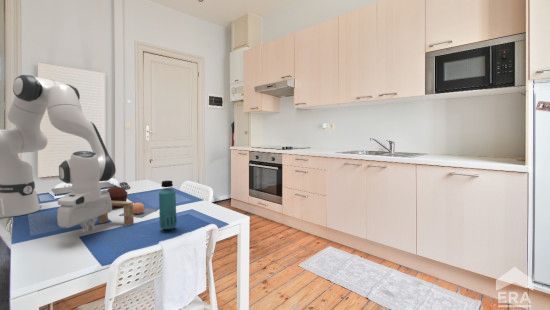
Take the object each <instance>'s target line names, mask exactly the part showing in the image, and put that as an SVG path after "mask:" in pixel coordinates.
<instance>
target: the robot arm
mask: <svg viewBox="0 0 550 310" xmlns="http://www.w3.org/2000/svg"><path fill="white" fill-rule="evenodd" d="M12 91H13V94H14V95H15V96H14V98H13V100H12V103H11V105H10V107H9V110H8V113H7V119H8V121H9V122H10V123H11V124H12V125H14V126H15V128H12V129H0V219H1V218H9V217H18V216H24V215H29V214H32V213H36V212H38V211H40V210H41V209H40V208H42V204H40V202H39V197H38V193H37V191H35V189H36V183H35V181H34V175H33V174H34V173H33V166H32V165H31V164H30V163H29V162H27V161H24V160H22V159H21V158H20V156H19V154H23V153H24V154H25V153H33V152H38V151H42V150H44V149H45V148H47V145H48V137H47V135H46V134H45V133H44V132H42V130H41V123H42V120H43V118H44V115H45V113H46V110H47V115H48V118H49V122H50V123H51V125H52V126H53V127H54V128H55V129H56V130H58V131H60V132H63V133H65V134H69V135H74V136H77V137H79V138H81V139H84V140H86V142H88V144H89V146H90V148H91V151H89V150H80V151H75V152H73V153H71V155H70V158H69V159H66V160H64V161H63V162H62V163H60V164H59V166H58V173H59V174H58V175H59V180H60V181H61V182H63V183H65V184H69V185H71V191H69V192H68V193H67V194H65V195H63V196H61V197H60V198H59V199H57V205H59V207H58V209H57V212H56V215H57V218H56V219H57V225H58V227H59V228H63V229H70V228H72V227H74V226H77V225H80V226H81V228H82V231H83V233H89V232H91V231H93V230H94V229H95V224H96V222H97V218H98V216H101V215H104V214H106V213H108V214H109V213H111V212H112V210H113V209H112V202H111V198H110V194H109V192H108V191H106V190H107V189H104V190H101V189H102V188H101V183H100V182H108V181H110V180H111V179H112V178H113V177H114V176H115V174H116V172H117V171H116V169H117V168H116V164H115V161H114V160H113V158H112V157H111V156H110V154H109V152H108V150H107V147H106V146H105V143H104V141H103V138H102V136H101V134H100V132H99V130H98V128H97V126H96V125H95V123H94V122H92V121H90V120H89V119H88V118H87V117H86V116H85V114H84V113H83V109H82V106H81V103H80V97H81V96H80V92H79V89H78V88H77V87H75V86H73V85H71V84H66V83H63V82H60V81H57V80H54V79H47V78H43V77H38V76H33V75H29V74H20V75H19V76H17V77H15V79H14V81H13V84H12Z"/></svg>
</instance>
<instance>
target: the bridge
mask: <svg viewBox="0 0 550 310" xmlns="http://www.w3.org/2000/svg"><path fill="white" fill-rule="evenodd" d="M111 202H112V206H124V207H123V213H124V216H123V222H124V226H130V225H132V224H134V223H135V222H134V221H135V219H134V217H133V204H134V201H127V200H126V201H112V200H111ZM97 219H98V220H97V222H98V223H99V224H104V223H106V222H108V221H109V213H106V214H104V215H101V216H98V217H97Z"/></svg>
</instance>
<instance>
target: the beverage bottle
mask: <svg viewBox="0 0 550 310" xmlns="http://www.w3.org/2000/svg"><path fill="white" fill-rule="evenodd" d="M160 186H161V187H162V188H163V189H161V190H160V191H159V192H158V198H159V199H158V201H159V203H158V205H159V213H158V214H159V227H160V229H161V230H170V229H173V228H174V229H175V228H176V227H177V222H178V221H177V197H176V190H175V189H173V188H171V187H173V186H174V185H173V180H162V181H161V185H160Z"/></svg>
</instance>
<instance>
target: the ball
mask: <svg viewBox="0 0 550 310" xmlns="http://www.w3.org/2000/svg"><path fill="white" fill-rule="evenodd" d="M144 208H145V205H144V204H143V203H142V202H135V203H133V213H134V214H141V213H142V212H143V211H144Z"/></svg>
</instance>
